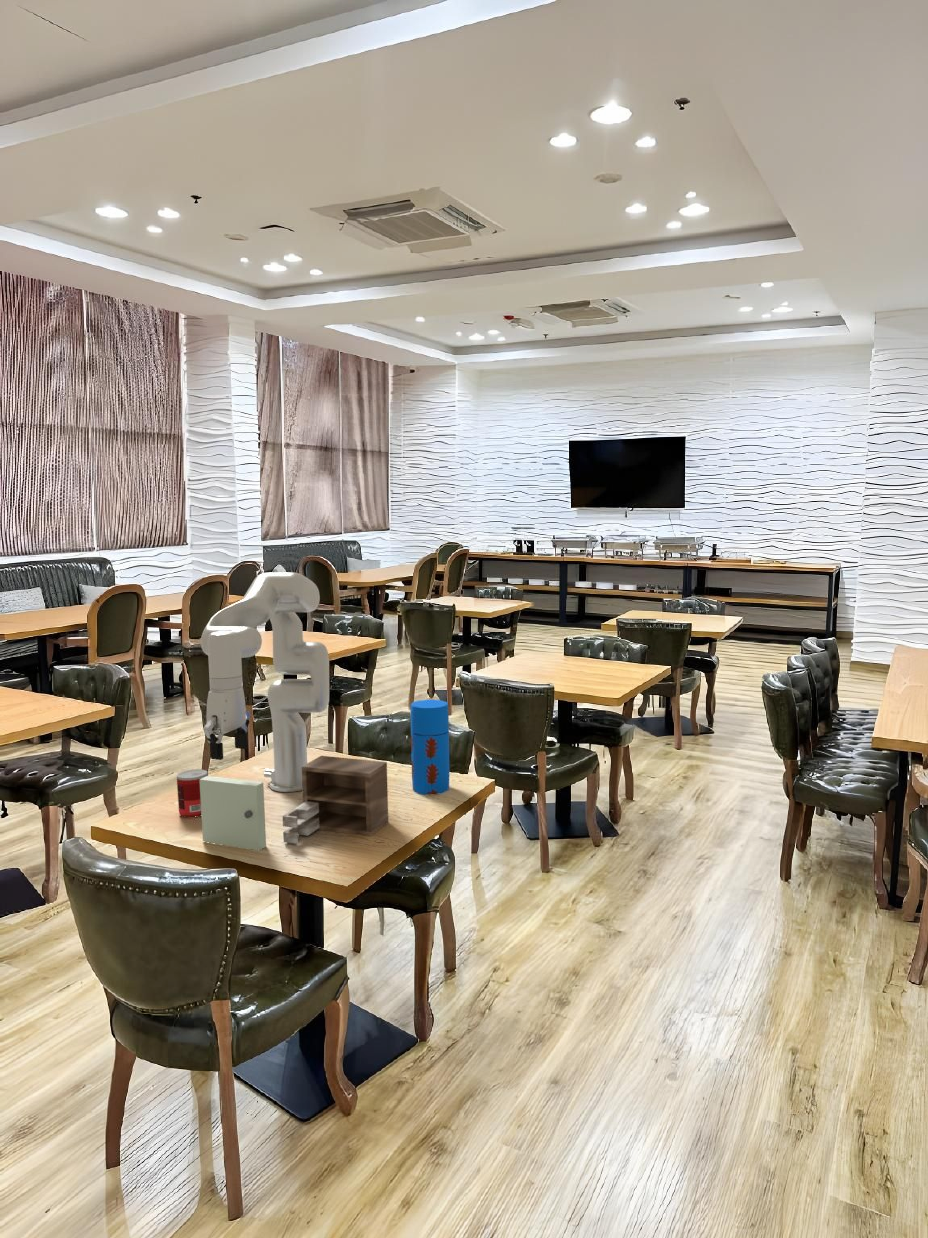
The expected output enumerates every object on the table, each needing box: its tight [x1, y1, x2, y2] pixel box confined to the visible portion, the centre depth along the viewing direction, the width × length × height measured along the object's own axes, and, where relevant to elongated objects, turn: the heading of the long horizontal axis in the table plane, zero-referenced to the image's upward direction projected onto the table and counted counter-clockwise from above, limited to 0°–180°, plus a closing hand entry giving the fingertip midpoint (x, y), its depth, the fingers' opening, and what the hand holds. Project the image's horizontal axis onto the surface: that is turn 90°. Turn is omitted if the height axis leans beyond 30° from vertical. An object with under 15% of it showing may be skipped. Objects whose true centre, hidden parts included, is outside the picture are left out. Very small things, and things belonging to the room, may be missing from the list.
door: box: [200, 775, 267, 852], centre depth 210 cm, size 16×4×16 cm, turn 70°
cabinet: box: [282, 755, 389, 845], centre depth 217 cm, size 19×21×16 cm
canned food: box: [176, 768, 209, 818], centre depth 232 cm, size 8×8×11 cm
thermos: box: [410, 699, 450, 796], centre depth 248 cm, size 11×11×25 cm
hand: (229, 753), depth 208 cm, fingers open, 9 cm apart
